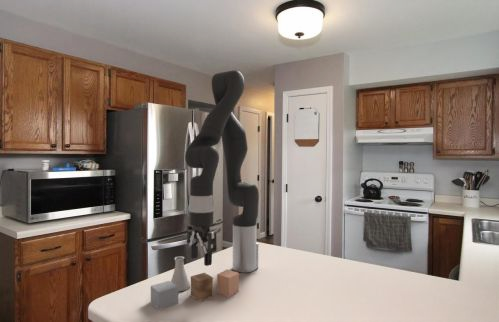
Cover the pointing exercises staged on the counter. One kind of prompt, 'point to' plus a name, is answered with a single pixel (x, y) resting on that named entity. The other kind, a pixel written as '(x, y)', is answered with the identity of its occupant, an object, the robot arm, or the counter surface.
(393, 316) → the counter surface
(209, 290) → the walnut cube
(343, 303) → the counter surface
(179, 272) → the flask
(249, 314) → the counter surface
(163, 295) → the grey base block
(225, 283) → the terracotta cube
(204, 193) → the robot arm
